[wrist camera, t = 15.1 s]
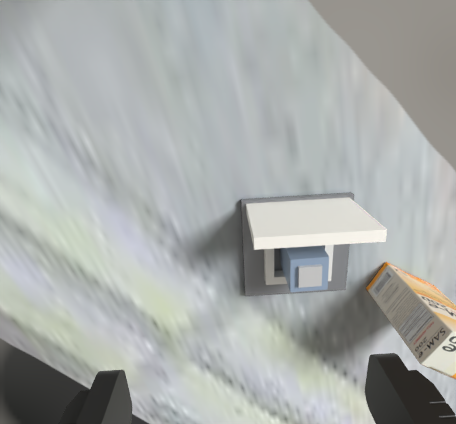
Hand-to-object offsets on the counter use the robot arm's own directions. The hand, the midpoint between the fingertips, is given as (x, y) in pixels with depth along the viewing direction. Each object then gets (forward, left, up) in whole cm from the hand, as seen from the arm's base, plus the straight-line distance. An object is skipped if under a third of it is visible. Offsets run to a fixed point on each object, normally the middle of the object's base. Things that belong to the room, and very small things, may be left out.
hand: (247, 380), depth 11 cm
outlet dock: (+10, +8, -28) cm, 31 cm away
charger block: (+10, +8, -27) cm, 30 cm away
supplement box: (+17, +22, -28) cm, 40 cm away
